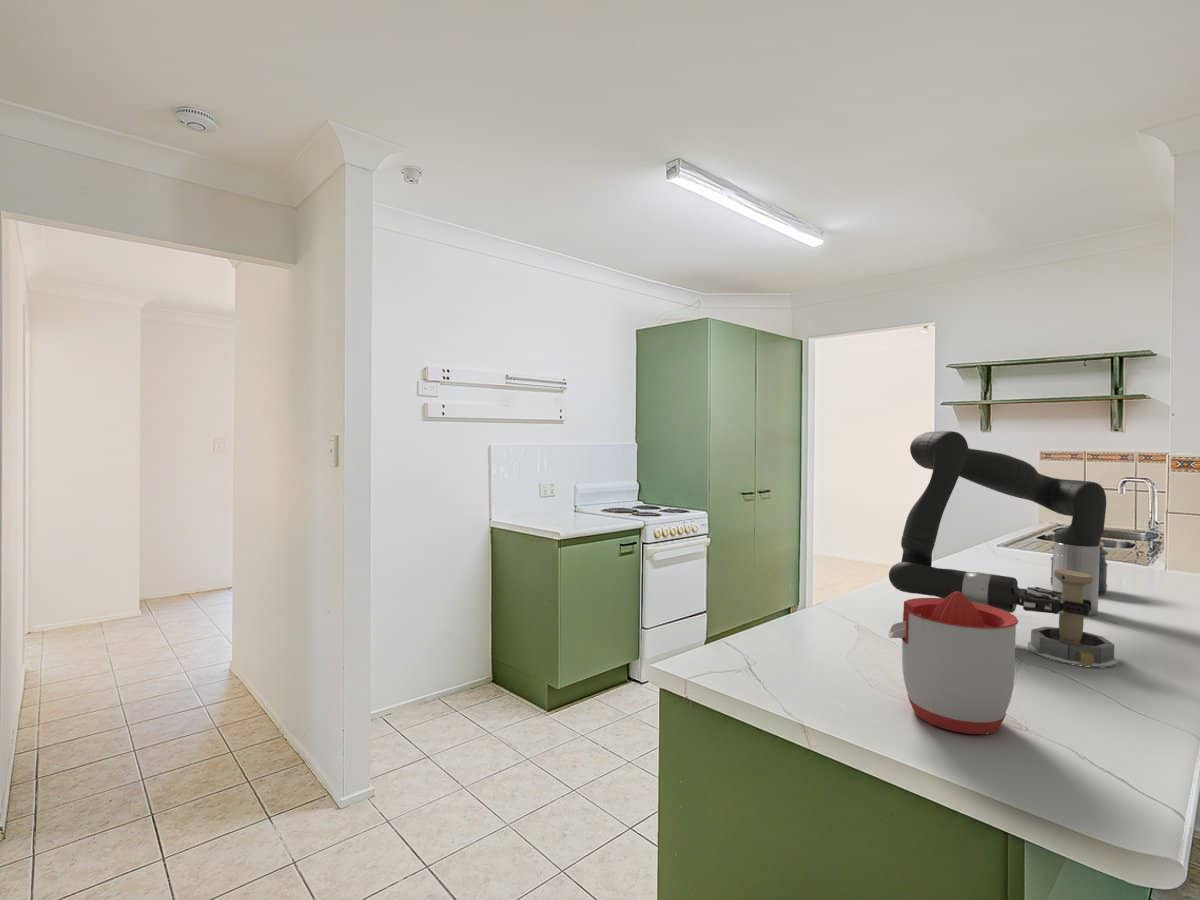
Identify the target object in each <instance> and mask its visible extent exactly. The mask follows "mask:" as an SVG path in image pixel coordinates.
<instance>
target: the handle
mask: <svg viewBox="0 0 1200 900" xmlns="http://www.w3.org/2000/svg"><path fill="white" fill-rule="evenodd" d="M1054 576H1055V577H1056V578H1057V579H1059V580H1060V581H1061V582H1062V596H1061V599H1062V600H1065V601H1072V602H1078V603H1083V586H1084V585H1087V584H1090V583H1092V582H1093V576H1091V575H1089V574H1085V573H1081V572H1076V571H1070V570H1054ZM1058 615H1059V616H1058V628H1059V633H1060V637H1061V638H1060V641H1061V642H1065V643H1069V644H1078V645H1081V642H1080V640H1081V638H1082V633H1083V632H1084V631H1083V630H1084V617H1085V616H1084V615H1079V614H1073V613H1067V612H1065V611H1064V613H1059V614H1058Z"/></svg>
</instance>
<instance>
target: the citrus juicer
mask: <svg viewBox="0 0 1200 900" xmlns="http://www.w3.org/2000/svg"><path fill="white" fill-rule="evenodd" d="M902 612H903V613H902V615H903V616H902V621H899V622H895V623H894V624H892V626H891V627H890V630H889V632H888V638H889V639H902V642H901V643H902V644H901V646H902V647H901V648H902V649H901V662H902V663H901V665H902V667H901V668H902V675H903V681H904V682H903V683H904V685H905V689H906V692H907V698H908V700H909V704H910V705H911V708H912V710H913V713H915V715H916V716H918V718H920V719H921V720H923V721H925V722H928V723H929V724H928V723H927V724H928V725H930V724H932V725H935V726H934V727H937V726H938V727H939V728H942V729H943V730H944V729H945V730H948V731H952V732H956V733H963V734H970V735H984V734H987V733H989V734H993V733H994V732H996V731H998V730H999V728H1000V727H1001V726H1002V723H1003V721H1004V719H1005V718H1006V715H1007V710H1008V708H1009V705H1010V703H1011V699H1012V696H1013V695H1012V694H1013V691H1014V684H1015V673H1016V671H1015V669H1016V667H1015V665H1016V662H1015V661H1016V630H1017V629H1016V628H1017V625H1018V623H1019V620H1018V618H1017V616H1015V614H1013V613H1009V612H1007V611H1004V610H1001V609H999V608H995V607H992V606H988V605H984V604H980V603H975V602H970V601H969V600H968V599H967V597H965V596H964V595H963V594H962V593H961V592H959V591H955V592H953V593H952V594H950V595H949V596H947V597H946V598H939V597H916V598H911V599H906V600H904V601H903V611H902ZM932 725H931V726H932ZM987 735H988V734H987Z"/></svg>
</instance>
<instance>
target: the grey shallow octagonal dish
mask: <svg viewBox="0 0 1200 900" xmlns="http://www.w3.org/2000/svg"><path fill="white" fill-rule="evenodd" d="M1060 638H1061V637H1060V633H1059V627H1052V626H1042V627H1037V628H1033V629H1031V630H1030V641H1028V643H1027V649H1028V651H1030V652H1031V653H1032V654H1035V655H1036V656H1038V655H1039V657H1041V656H1042V657H1041V658H1043V657H1045V658H1044V659H1046V658H1048V659H1047V660H1049V659H1051V660H1050V661H1052V660H1055V661H1054V662H1056V661H1058V662H1057V663H1060V662H1063V663H1062V664H1064V663H1068V664H1067V665H1069V664H1074V665H1082V666H1090V667H1110V668H1112V667H1111V666H1114V665H1116V664H1117V665H1118V659H1117V657H1116V656H1115V644H1114V643H1113V642H1111V641H1110V640H1108V639H1107V638H1105V637H1104V636H1102V635H1098V634H1094V633H1092V632H1091V633H1090V632H1086V631H1083V633H1082V638H1081V640H1080V642H1081V645H1078V644H1069V643H1065V642H1061V641H1060ZM1074 665H1073V666H1074ZM1117 665H1116V666H1117ZM1114 667H1115V666H1114Z"/></svg>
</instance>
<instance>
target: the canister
mask: <svg viewBox="0 0 1200 900" xmlns="http://www.w3.org/2000/svg"><path fill="white" fill-rule="evenodd" d="M1104 546H1105V543H1104V542H1103V541H1101V540H1100V555H1099V590H1098V594H1103V595H1105V594H1106V593H1107V590H1108V584H1107V576H1108V575H1107V574H1108V566H1109V564H1108V563H1107V560H1106V556H1108V554H1109V552H1108V551H1107V550H1105V549H1104ZM1050 548H1051V549H1052V551H1053V552H1052V553H1053V554H1052V557H1050V560H1051V569H1050V581H1049V583H1050V585H1051V586H1053V560H1054V545H1052V546H1051V547H1050ZM1104 593H1105V594H1104Z"/></svg>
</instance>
